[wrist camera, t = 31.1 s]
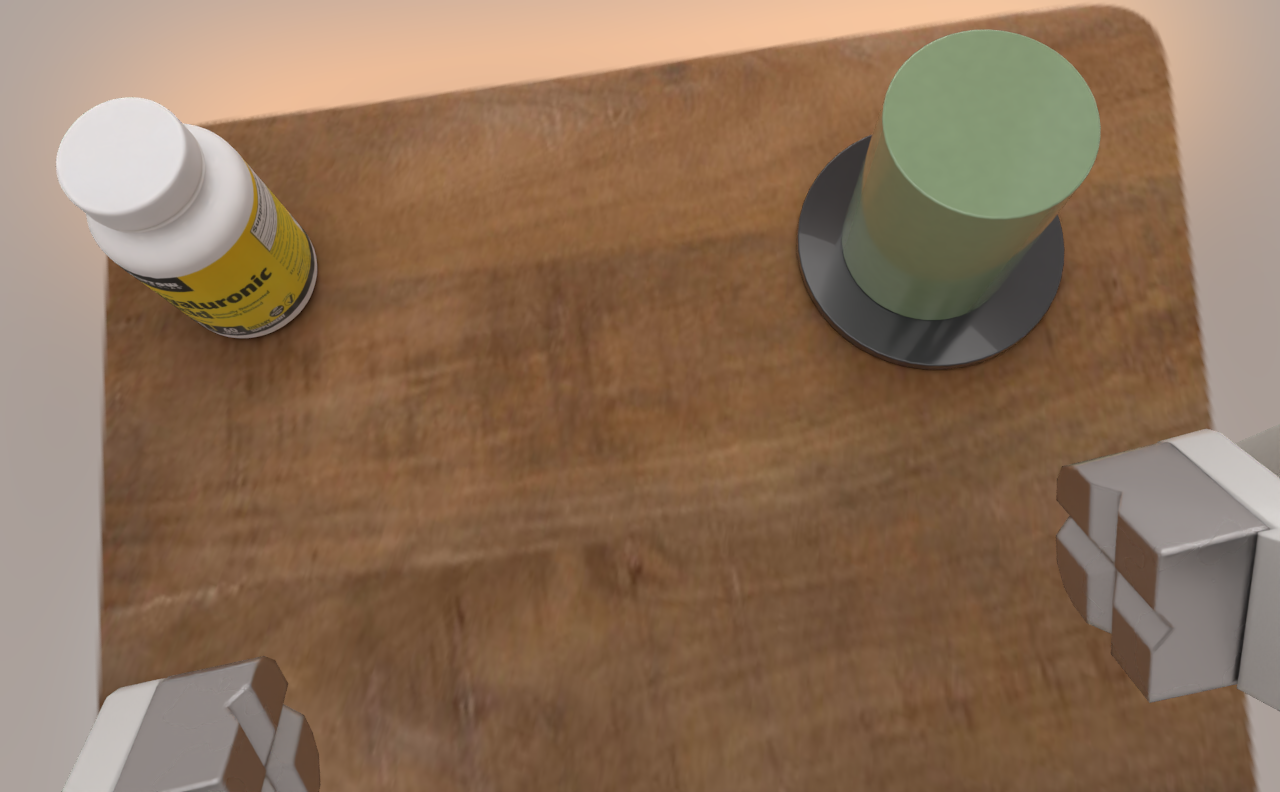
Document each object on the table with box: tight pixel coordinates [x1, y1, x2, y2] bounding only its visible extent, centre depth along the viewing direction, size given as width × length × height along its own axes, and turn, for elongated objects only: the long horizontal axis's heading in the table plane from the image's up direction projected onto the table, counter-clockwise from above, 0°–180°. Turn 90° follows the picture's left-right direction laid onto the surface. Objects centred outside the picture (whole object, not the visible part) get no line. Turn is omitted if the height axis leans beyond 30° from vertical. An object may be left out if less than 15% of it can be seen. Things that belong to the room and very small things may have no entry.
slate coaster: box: [796, 135, 1064, 370], centre depth 38 cm, size 10×10×1 cm
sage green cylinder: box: [842, 30, 1101, 320], centre depth 34 cm, size 6×6×8 cm
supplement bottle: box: [56, 97, 317, 338], centre depth 35 cm, size 5×5×10 cm
